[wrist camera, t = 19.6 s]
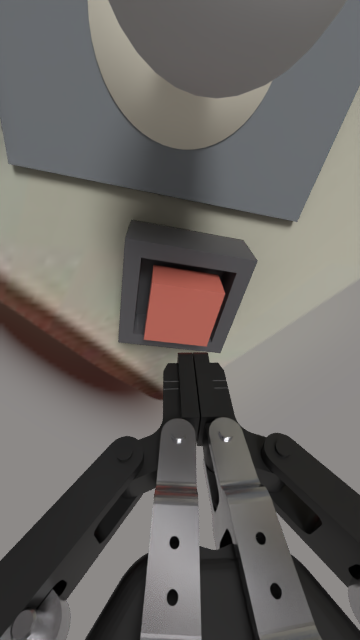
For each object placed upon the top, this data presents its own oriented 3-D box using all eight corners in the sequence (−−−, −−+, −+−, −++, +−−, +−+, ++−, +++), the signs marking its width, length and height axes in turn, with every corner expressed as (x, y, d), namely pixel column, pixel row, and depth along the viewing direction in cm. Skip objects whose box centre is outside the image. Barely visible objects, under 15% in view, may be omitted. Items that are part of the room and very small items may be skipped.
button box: (124, 314, 22) (118, 342, 19) (131, 219, 17) (125, 238, 14) (213, 325, 23) (220, 353, 20) (243, 240, 18) (257, 260, 16)
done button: (145, 318, 19) (143, 339, 17) (153, 264, 16) (152, 282, 15) (202, 325, 20) (206, 346, 18) (218, 274, 17) (225, 293, 15)
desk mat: (12, 162, 15) (7, 164, 14) (-96, -466, 6) (-116, -512, 6) (293, 219, 18) (297, 222, 17) (468, -169, 9) (485, -185, 9)
